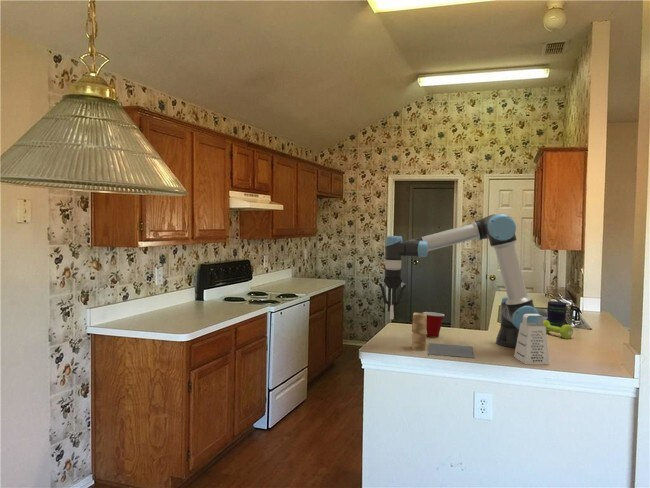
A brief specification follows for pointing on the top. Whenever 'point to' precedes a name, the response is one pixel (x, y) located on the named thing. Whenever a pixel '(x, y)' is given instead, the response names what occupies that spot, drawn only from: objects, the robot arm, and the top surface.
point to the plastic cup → (433, 323)
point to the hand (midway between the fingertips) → (391, 318)
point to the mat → (451, 350)
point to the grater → (532, 342)
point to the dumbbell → (559, 329)
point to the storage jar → (556, 313)
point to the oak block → (419, 331)
